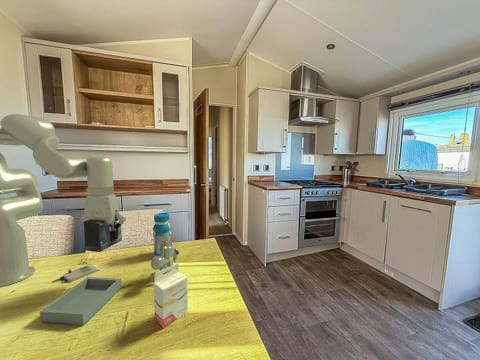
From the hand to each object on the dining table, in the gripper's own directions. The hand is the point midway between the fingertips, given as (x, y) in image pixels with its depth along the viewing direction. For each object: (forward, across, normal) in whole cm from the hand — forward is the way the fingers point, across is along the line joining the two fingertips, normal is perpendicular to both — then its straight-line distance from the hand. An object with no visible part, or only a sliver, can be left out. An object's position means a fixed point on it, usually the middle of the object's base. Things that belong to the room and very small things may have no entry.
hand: (104, 239), depth 75 cm
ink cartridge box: (+18, +30, -14) cm, 37 cm away
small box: (+3, 0, 0) cm, 3 cm away
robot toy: (+18, +20, +5) cm, 27 cm away
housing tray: (+18, 0, -10) cm, 20 cm away
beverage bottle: (+18, +11, +25) cm, 32 cm away
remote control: (+18, -16, +5) cm, 25 cm away
